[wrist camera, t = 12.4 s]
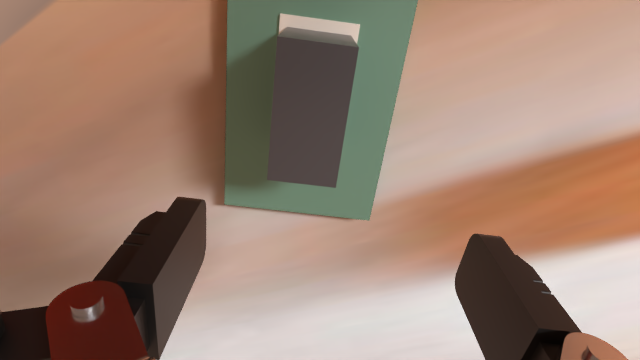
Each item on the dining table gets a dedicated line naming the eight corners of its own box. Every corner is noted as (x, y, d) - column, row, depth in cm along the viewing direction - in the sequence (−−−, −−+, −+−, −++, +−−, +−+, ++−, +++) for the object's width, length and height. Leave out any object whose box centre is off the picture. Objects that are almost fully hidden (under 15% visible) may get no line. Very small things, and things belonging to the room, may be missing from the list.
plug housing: (287, 26, 24) (277, 36, 19) (351, 35, 24) (359, 47, 19) (277, 144, 28) (266, 180, 23) (333, 150, 28) (335, 187, 23)
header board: (234, -88, 23) (217, -104, 19) (425, -59, 24) (444, -69, 20) (228, 195, 32) (216, 222, 28) (367, 211, 32) (373, 239, 29)
